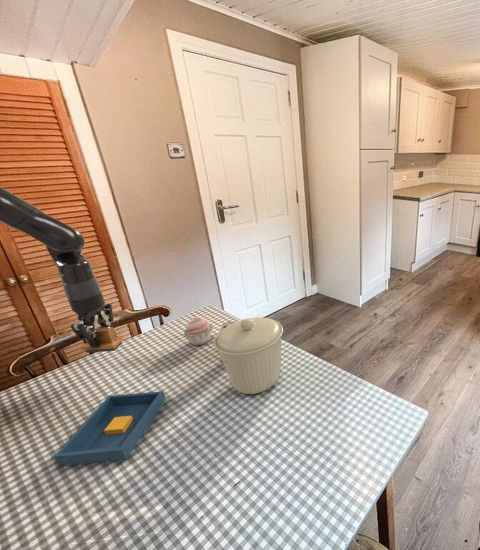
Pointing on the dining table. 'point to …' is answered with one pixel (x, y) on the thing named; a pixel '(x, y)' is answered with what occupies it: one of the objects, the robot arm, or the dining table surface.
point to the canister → (251, 353)
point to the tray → (103, 448)
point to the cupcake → (198, 331)
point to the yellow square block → (118, 425)
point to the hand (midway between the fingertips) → (102, 341)
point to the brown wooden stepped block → (104, 340)
